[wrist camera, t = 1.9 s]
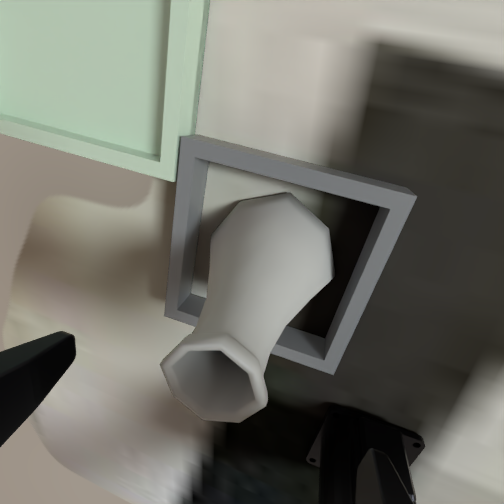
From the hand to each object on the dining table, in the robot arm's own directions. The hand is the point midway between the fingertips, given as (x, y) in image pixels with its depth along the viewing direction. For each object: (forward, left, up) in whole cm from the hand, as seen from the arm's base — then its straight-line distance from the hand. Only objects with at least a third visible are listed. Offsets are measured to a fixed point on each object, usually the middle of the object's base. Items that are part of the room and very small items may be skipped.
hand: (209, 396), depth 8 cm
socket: (0, 0, -10) cm, 10 cm away
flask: (0, 0, -11) cm, 11 cm away
